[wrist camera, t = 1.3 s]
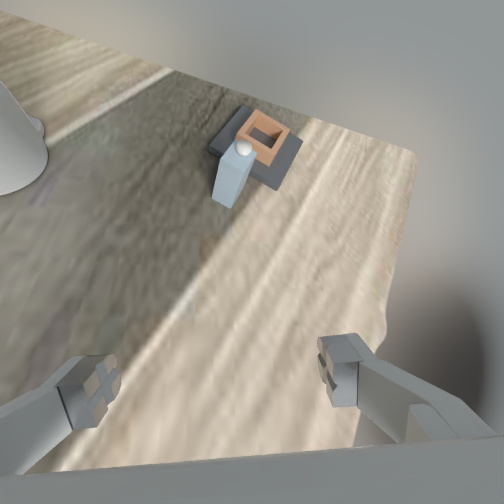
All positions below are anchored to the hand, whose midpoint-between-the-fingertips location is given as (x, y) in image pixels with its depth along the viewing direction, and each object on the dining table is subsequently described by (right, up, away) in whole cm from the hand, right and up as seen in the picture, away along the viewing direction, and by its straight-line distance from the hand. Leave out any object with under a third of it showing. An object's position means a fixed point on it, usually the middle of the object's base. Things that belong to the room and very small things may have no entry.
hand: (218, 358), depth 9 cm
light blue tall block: (-3, +15, +35) cm, 38 cm away
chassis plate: (+3, +27, +42) cm, 50 cm away
